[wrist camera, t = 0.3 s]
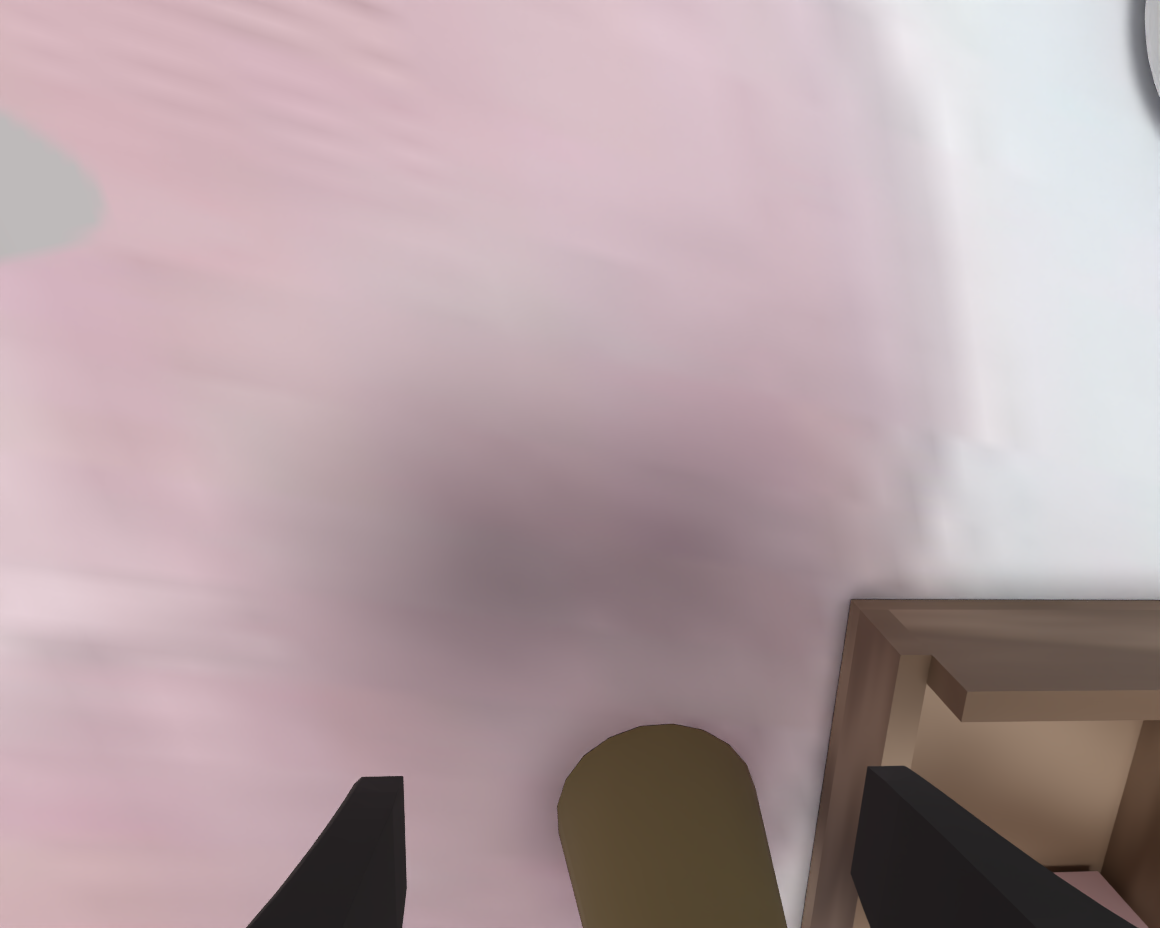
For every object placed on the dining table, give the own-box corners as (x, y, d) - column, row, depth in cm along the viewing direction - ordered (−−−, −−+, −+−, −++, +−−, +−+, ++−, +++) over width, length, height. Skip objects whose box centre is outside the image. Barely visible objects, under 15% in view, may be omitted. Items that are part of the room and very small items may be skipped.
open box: (1071, 995, 27) (1177, 1142, 23) (788, 1007, 27) (843, 1163, 22) (1183, 600, 23) (1339, 688, 19) (851, 599, 22) (933, 691, 18)
